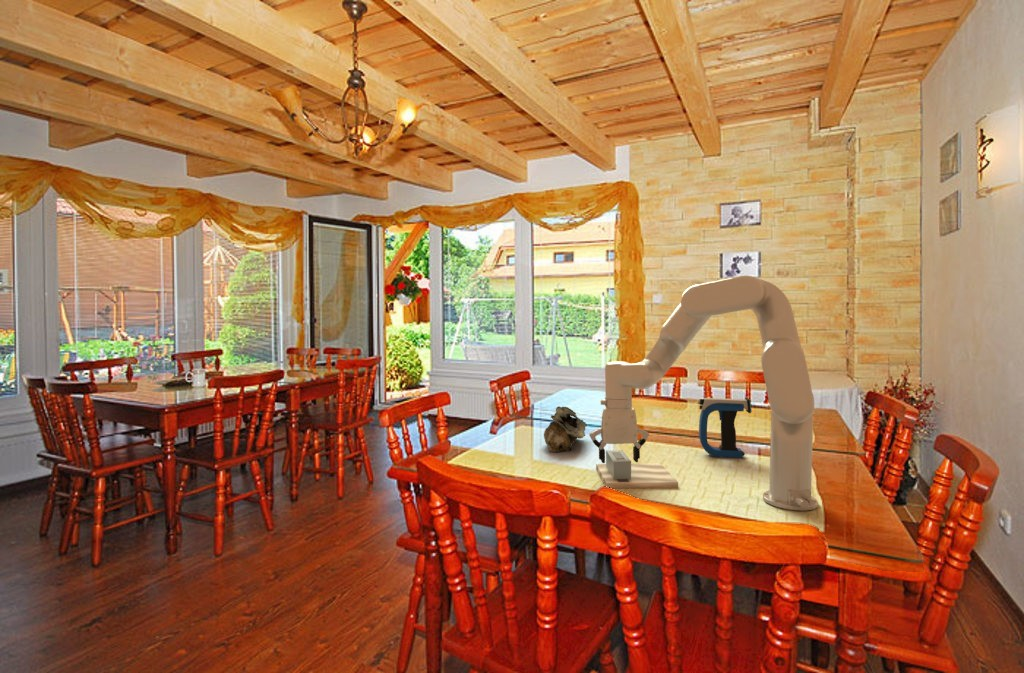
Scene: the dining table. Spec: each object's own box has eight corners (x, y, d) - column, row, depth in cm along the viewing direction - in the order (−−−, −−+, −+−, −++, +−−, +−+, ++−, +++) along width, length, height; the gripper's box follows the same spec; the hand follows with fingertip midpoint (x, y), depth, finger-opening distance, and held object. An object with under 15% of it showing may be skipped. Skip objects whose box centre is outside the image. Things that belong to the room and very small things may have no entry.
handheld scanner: (751, 459, 179) (752, 399, 178) (700, 456, 182) (700, 398, 181) (748, 455, 183) (749, 397, 182) (698, 453, 186) (698, 396, 186)
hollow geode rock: (571, 447, 214) (546, 418, 217) (595, 426, 210) (568, 397, 213) (553, 465, 187) (524, 431, 190) (579, 441, 184) (549, 408, 187)
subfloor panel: (678, 487, 152) (678, 481, 152) (606, 488, 152) (606, 482, 152) (660, 468, 170) (660, 463, 170) (596, 468, 170) (596, 463, 170)
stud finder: (631, 478, 155) (631, 461, 154) (613, 479, 155) (613, 461, 154) (622, 466, 167) (622, 449, 166) (606, 466, 167) (606, 449, 166)
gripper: (590, 406, 156) (591, 465, 157) (651, 405, 156) (652, 464, 157) (587, 402, 163) (588, 458, 164) (644, 400, 163) (645, 457, 164)
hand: (619, 461), depth 160 cm, fingers open, 9 cm apart
